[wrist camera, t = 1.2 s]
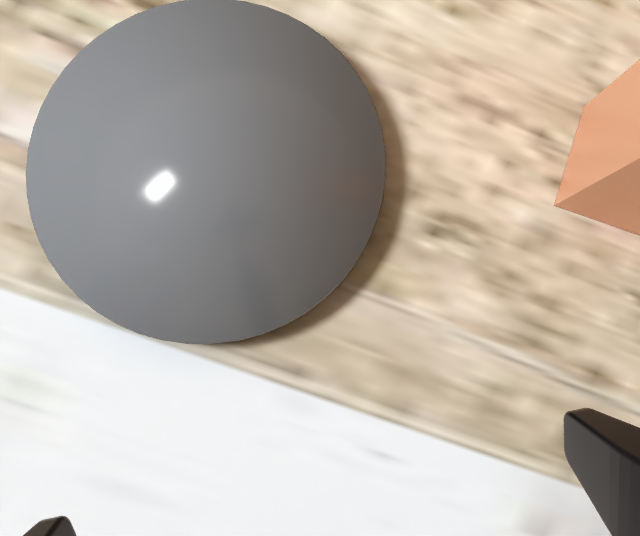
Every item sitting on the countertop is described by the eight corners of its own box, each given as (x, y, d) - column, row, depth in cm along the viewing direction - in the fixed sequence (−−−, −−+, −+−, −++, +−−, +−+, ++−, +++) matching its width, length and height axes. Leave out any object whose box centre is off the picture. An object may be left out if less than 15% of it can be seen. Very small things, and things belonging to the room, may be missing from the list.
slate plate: (447, 127, 26) (453, 116, 25) (253, 415, 24) (249, 420, 22) (175, -44, 27) (169, -62, 26) (-31, 214, 25) (-49, 209, 24)
